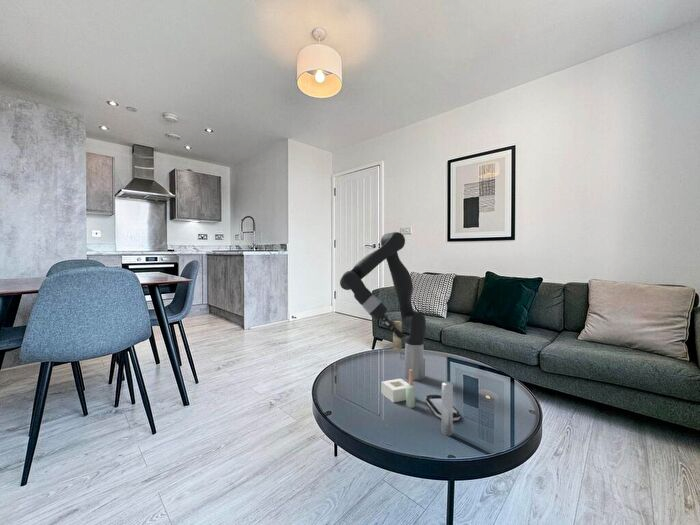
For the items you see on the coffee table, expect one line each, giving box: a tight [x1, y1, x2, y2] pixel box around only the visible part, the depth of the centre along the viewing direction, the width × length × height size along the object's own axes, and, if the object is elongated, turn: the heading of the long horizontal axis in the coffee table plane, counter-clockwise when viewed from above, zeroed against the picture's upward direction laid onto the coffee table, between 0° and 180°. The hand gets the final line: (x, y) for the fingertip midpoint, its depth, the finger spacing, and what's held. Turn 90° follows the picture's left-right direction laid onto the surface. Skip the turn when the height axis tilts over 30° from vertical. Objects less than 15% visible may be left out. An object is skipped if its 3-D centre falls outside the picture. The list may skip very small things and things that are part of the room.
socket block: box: [380, 369, 414, 403], centre depth 126 cm, size 10×10×12 cm
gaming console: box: [424, 394, 462, 423], centre depth 114 cm, size 19×9×2 cm, turn 5°
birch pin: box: [392, 320, 403, 351], centre depth 127 cm, size 4×4×12 cm
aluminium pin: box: [440, 380, 454, 437], centre depth 98 cm, size 4×4×16 cm
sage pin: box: [405, 385, 416, 409], centre depth 117 cm, size 4×4×8 cm
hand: (402, 336), depth 127 cm, fingers closed on birch pin, 3 cm apart
